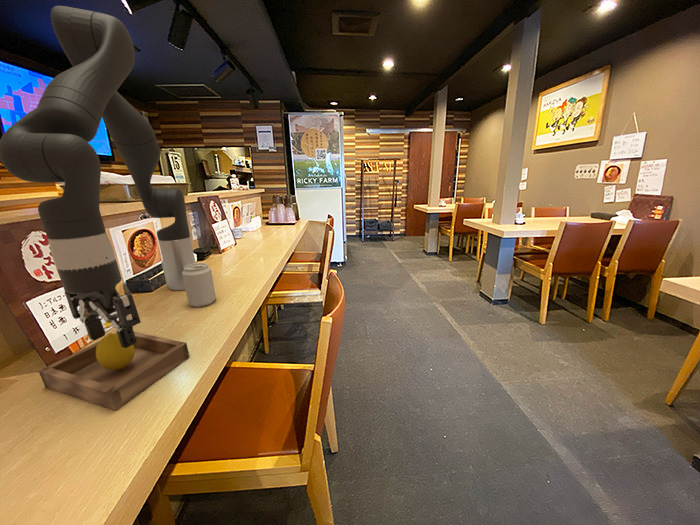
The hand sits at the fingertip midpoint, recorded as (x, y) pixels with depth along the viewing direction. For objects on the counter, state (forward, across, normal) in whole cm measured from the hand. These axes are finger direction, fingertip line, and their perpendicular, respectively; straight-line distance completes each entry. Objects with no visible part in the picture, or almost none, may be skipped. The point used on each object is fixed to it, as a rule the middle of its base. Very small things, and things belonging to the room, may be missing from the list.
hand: (113, 341), depth 51 cm
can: (+7, +9, -29) cm, 31 cm away
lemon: (+6, 0, 0) cm, 7 cm away
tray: (+7, 0, 0) cm, 7 cm away
